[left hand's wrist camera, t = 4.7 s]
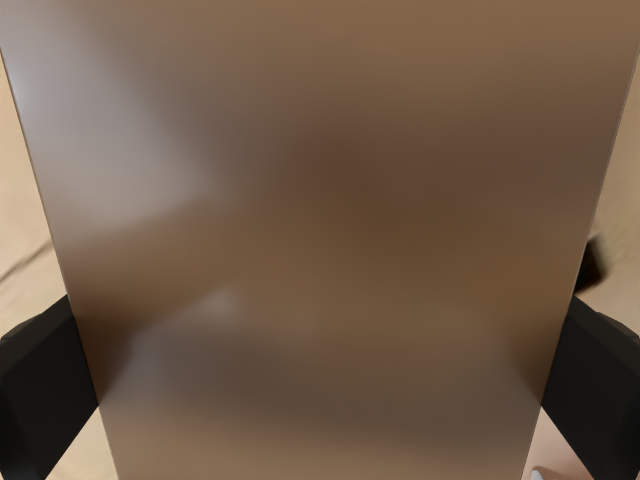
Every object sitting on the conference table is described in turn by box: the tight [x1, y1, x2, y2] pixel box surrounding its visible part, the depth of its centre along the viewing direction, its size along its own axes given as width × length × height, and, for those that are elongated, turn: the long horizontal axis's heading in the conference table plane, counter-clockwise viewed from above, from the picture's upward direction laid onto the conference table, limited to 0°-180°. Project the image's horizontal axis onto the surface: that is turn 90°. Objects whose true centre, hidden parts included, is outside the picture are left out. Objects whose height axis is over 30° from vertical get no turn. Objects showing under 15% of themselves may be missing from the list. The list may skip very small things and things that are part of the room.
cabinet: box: [0, 0, 640, 480], centre depth 11 cm, size 20×11×8 cm, turn 0°
